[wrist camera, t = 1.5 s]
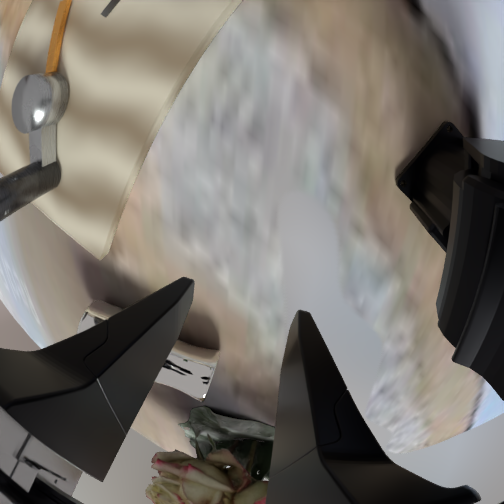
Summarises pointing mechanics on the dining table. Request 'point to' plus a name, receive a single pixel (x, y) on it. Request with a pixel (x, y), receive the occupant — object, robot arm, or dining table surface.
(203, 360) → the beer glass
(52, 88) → the cam lever
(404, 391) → the dining table surface
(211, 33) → the dial board
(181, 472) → the rose bouquet
